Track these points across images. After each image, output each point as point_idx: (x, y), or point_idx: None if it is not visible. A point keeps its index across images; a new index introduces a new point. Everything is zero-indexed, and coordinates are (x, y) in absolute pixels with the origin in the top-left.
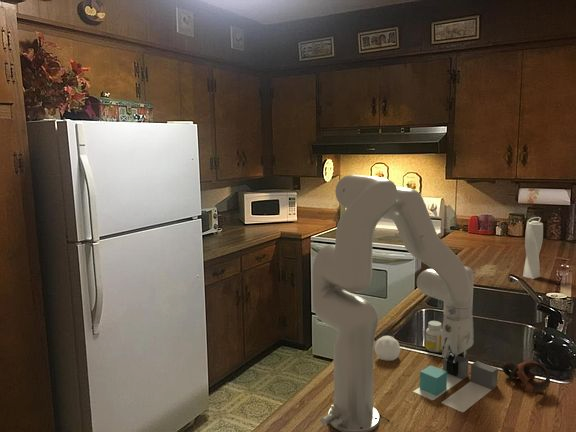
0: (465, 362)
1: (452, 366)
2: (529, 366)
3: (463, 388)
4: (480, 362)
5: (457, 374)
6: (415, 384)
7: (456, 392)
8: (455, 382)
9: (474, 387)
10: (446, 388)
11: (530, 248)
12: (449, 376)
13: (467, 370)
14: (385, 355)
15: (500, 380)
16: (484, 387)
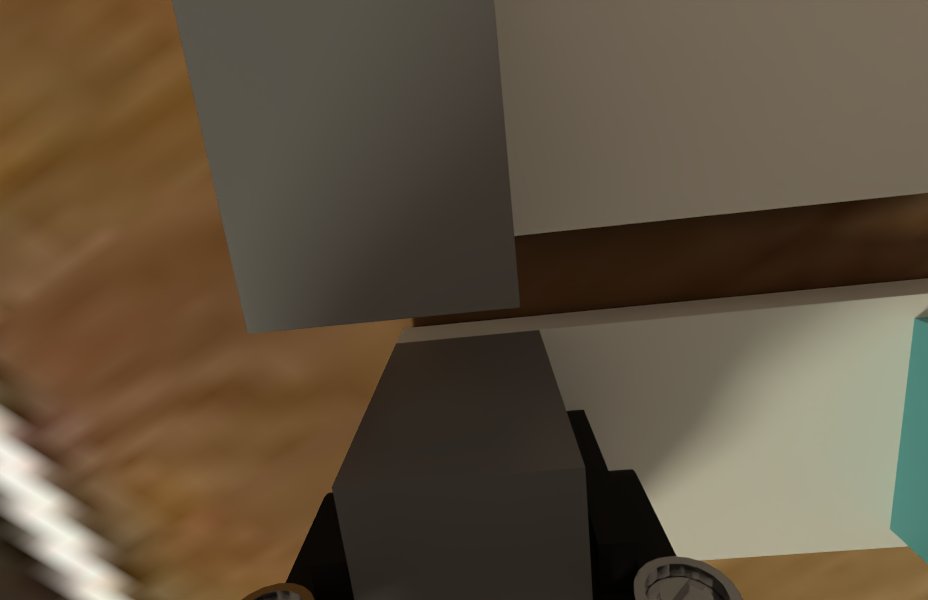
0: (472, 459)
1: (663, 541)
2: None
3: (745, 184)
4: (230, 225)
5: None
6: (923, 596)
7: (920, 179)
8: (677, 341)
9: (609, 100)
10: (919, 320)
11: None
12: None
13: (403, 374)
14: None
15: (70, 56)
16: (496, 3)
